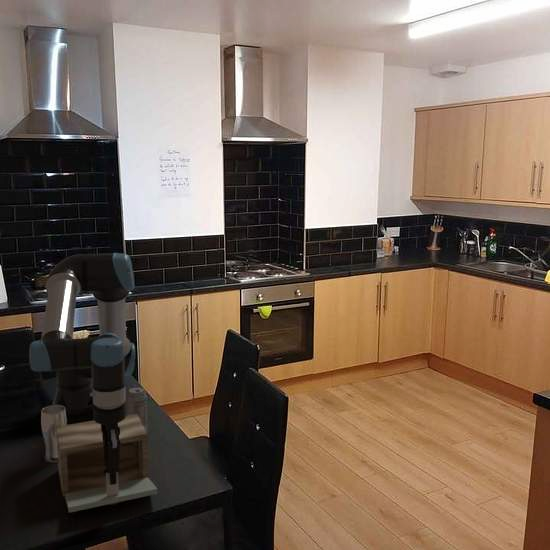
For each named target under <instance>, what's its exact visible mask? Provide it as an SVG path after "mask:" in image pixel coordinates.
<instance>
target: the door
mask: <svg viewBox="0 0 550 550" xmlns="http://www.w3.org/2000/svg"><path fill="white" fill-rule="evenodd" d="M118 484H119V494H116V495H112V496H107V488H106V486H102V487H97V488H92V489H87V490H82V491H77V492H72V493H67V494H65V496H64V499H65V502H66V506H67V510H68V513H74V512H79V511H83V510H88V509H93V508H97V507H101V506H107V505H110V506H113V505H114V506H115V505H117V504H118V503H121V502H125V501H130V500H135V499H139V498H144V497H148V496H154V495H157V494H158V493H159V491H158V488H157V486H156V485H155V484H154V483H153V481H152V480H151V479H150V477H149V478H148V477H146V478H141V479H136V480H132V481H127V482H122V483H118Z"/></svg>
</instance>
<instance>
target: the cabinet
mask: <svg viewBox="0 0 550 550" xmlns="http://www.w3.org/2000/svg"><path fill="white" fill-rule="evenodd" d="M118 427H120V435H119V440H120V442H121V443H120V460H119V468H120V470H119V472H118V483H122V482H127V481H132V480H136V479H141V478H146V477H148V478H149V479H150V477H149V473H150V472H149V445H148V444H149V442H148V441H149V439H148V436H149V435H148V431H147V432H146V430H145V428H144V426H143V424H142V422H141V420H140V418H139V416H138V415H137V414H133V415H128V414H126V417H125V419H124V420H123V421H121V422H119V423H118ZM56 434H57V451H58V462H57V466H58V467H57V468H58V469H57V470H58V475H59V476H58V477H59V481H60V488H61V494H62V495H61V496H62V497H65V494H67V493H72V492H77V491H82V490H87V489H92V488H97V487H102V486H106V473H104V470H105V469H107V468H106V467H105V464H106V463H105V461H104V447H103V439H102V431H101V424H98V423H96V422H95V421H94V420H89V421H83V422H77V423H71V424H67V425H63V426H57V427H56Z"/></svg>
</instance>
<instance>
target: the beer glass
mask: <svg viewBox="0 0 550 550" xmlns="http://www.w3.org/2000/svg"><path fill="white" fill-rule="evenodd" d="M40 412H41V415H40V426H41V432H42V436H43V441H44V444H45V455H44V461H46V462H48V463H51V464H52V463H58V451H57V434H56V427H57V426H63V425H68V420H67V419H68V418H67V417H68V416H67V415H66V410H65V407H64V406H62V405H53V404H52V405H47V406H45V407H43V408H42V409H41V411H40Z"/></svg>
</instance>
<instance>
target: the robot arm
mask: <svg viewBox="0 0 550 550" xmlns="http://www.w3.org/2000/svg"><path fill="white" fill-rule="evenodd" d="M131 260H132V259H131V257H130V256H129V254H126V253H121V252H120V253H119V252H114V253H86V254H85V253H79V254H78V253H77V254H73V255H70V256H67V257H65V258H63V260H61V261H59V262H58V263H57V264H56V265H55V266H54V267H53V268H52V269H51V270H50V272H49V274H48V276H47V278H46V281H45V292H46V293H47V300H46V305H45V311H44V319H43V325H42V330H41V338H40V339H39V340H34V341H32V342H31V343H30V345H29V349H28V350H29V351H28V352H29V353H28V355H29V356H28V357H29V358H28V359H29V366H30V369H31V371H33V372H49V373H50V372H55V373H56V391H55V395H54V398H53V402H52V405H62V406H64V407H65V410H66V417H68V416H69V417H70V416H80V415H84V414H87V413H90V412H93V413H92V414H93V421H95V422H96V423H98V424H101V431H102V439H103V447H104V461H105V463H106V464H105V467H106V468H107V469H105V470H104V473H106V488H107V496H112V495H116V494H119V484H118V472H119V470H120V468H119V460H120V443H121V442H120V440H119V435H120V427H118V423H119V422H121V421H123V420H124V419H125V417H126V416H127V394H126V392H127V391H126V382H125V380H126V378H125V377H127V376H131V375H132V374H133V371H134V369H135V362H136V361H135V360H136V347H135V344H134V343H133V342H131V341H130V339H129V338H128V337H127V327H126V325H127V321H126V298H128V296H129V294H130V292H131V291H133V290H134V289H135V277H134V272H133V271H134V270H133V263H132V261H131ZM80 293H91V294H92V296H93V297H94V299H95V300H97V313H98V314H97V315H98V326H99V335H98V336H97V337H84V338H74V327H75V316H76V304H77V303H76V301H77V297H78V296H79V294H80Z"/></svg>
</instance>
